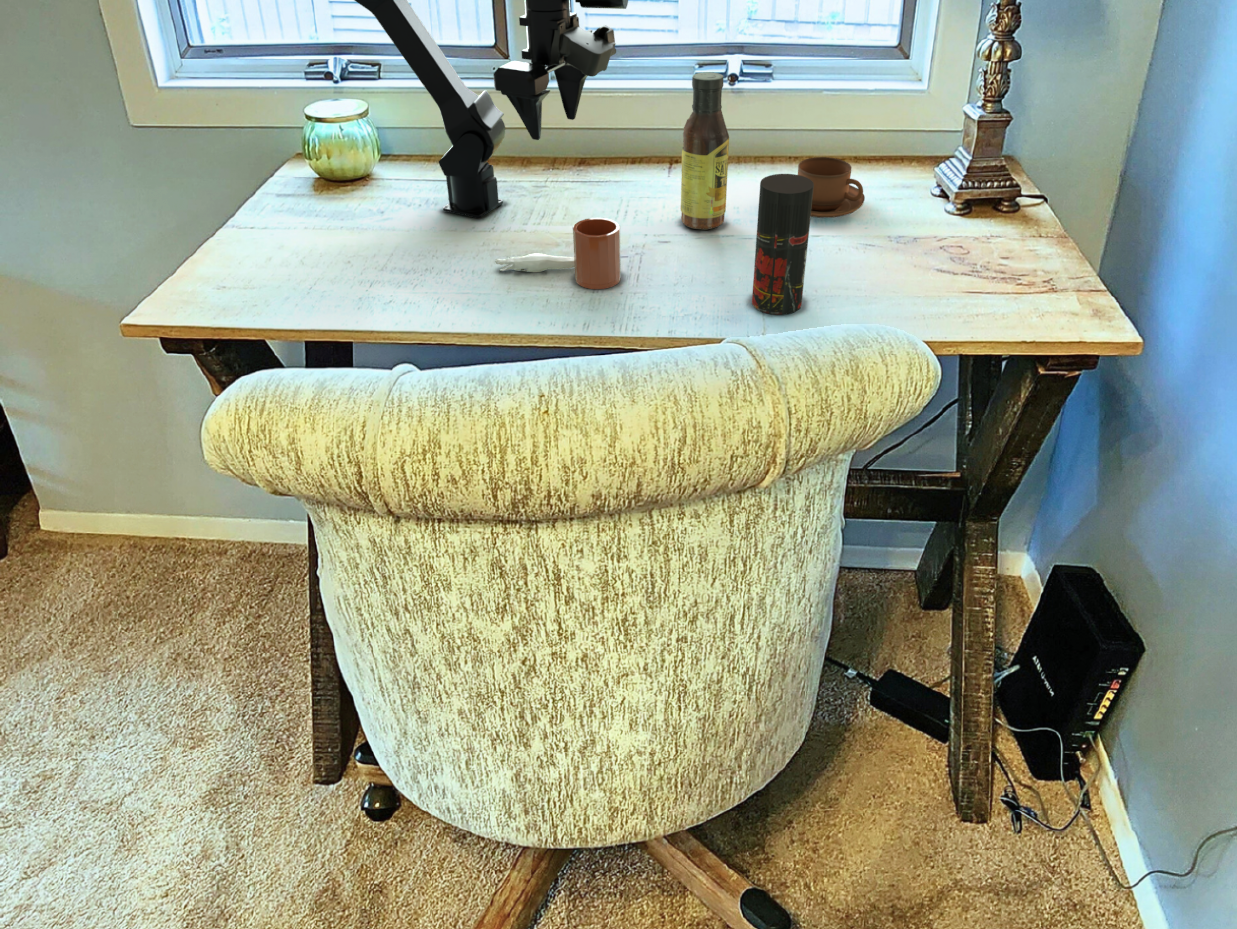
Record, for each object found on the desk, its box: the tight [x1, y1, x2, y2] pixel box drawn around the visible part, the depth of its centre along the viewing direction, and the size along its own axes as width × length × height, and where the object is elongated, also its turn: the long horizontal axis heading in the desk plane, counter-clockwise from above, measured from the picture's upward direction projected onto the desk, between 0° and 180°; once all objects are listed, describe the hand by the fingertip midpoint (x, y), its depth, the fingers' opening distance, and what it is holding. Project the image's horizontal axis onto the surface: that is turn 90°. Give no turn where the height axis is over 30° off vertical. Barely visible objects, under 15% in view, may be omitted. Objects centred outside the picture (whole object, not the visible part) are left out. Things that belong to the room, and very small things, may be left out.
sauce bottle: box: [680, 71, 730, 230], centre depth 137 cm, size 7×6×20 cm
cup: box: [572, 217, 622, 290], centre depth 127 cm, size 6×6×7 cm
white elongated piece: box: [494, 252, 575, 273], centre depth 131 cm, size 15×3×2 cm, turn 92°
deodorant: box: [751, 173, 814, 316], centre depth 119 cm, size 6×6×15 cm
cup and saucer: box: [797, 156, 866, 219], centre depth 145 cm, size 12×12×6 cm
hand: (554, 129), depth 139 cm, fingers open, 9 cm apart
